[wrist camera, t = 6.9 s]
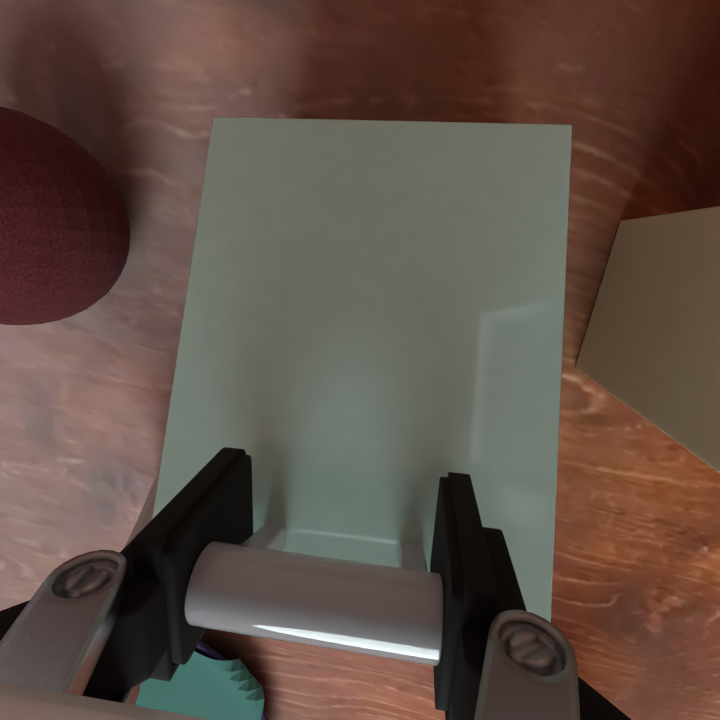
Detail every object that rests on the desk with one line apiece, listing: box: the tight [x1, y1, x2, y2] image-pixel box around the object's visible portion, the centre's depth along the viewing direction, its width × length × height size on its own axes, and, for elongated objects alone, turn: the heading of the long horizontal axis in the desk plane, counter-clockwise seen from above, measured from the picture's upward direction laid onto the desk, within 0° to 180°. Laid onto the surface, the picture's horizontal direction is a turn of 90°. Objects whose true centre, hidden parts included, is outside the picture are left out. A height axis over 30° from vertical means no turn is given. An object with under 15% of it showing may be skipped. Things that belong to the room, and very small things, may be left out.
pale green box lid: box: [152, 117, 572, 666], centre depth 11 cm, size 16×12×5 cm
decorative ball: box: [0, 107, 130, 325], centre depth 20 cm, size 10×10×10 cm
